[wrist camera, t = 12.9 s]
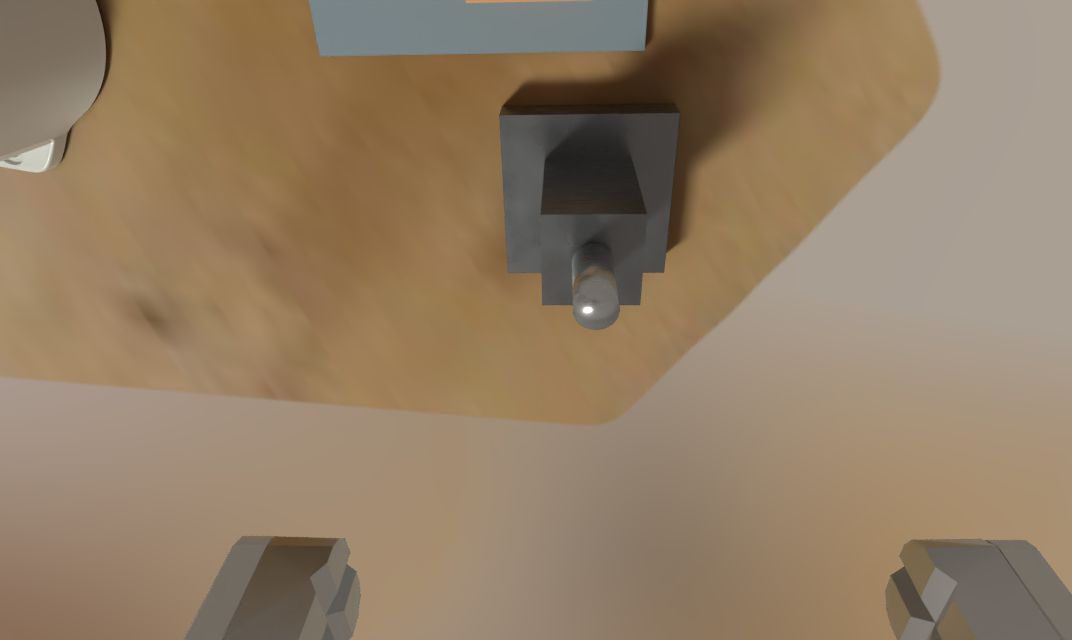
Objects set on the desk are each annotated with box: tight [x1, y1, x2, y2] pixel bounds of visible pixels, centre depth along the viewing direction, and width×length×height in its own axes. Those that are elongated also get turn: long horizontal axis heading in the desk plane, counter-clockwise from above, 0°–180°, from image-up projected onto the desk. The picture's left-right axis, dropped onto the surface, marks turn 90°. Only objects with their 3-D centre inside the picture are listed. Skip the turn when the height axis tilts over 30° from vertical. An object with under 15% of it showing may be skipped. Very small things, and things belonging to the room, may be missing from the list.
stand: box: [499, 104, 680, 330], centre depth 33 cm, size 10×10×14 cm
